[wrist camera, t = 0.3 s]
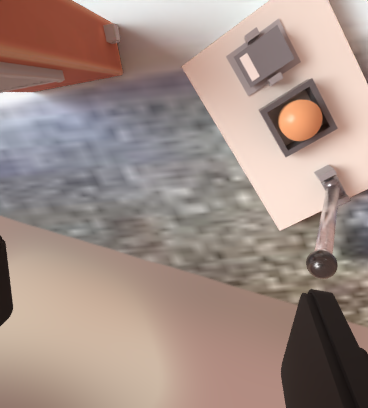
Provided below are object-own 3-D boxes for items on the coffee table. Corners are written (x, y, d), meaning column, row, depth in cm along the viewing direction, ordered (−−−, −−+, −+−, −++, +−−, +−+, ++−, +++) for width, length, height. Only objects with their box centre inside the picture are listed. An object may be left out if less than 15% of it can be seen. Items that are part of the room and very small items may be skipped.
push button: (306, 91, 28) (311, 91, 26) (323, 125, 29) (329, 127, 27) (270, 113, 29) (272, 114, 27) (288, 145, 30) (291, 148, 28)
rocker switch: (277, 25, 27) (277, 24, 26) (294, 58, 28) (294, 58, 27) (235, 57, 29) (233, 57, 28) (251, 86, 30) (250, 87, 29)
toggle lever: (339, 172, 30) (328, 258, 20) (348, 188, 31) (341, 282, 20) (319, 179, 32) (299, 264, 21) (328, 195, 32) (312, 286, 21)
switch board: (305, -21, 29) (320, -45, 24) (393, 163, 33) (421, 176, 28) (186, 68, 33) (176, 64, 28) (276, 220, 38) (282, 240, 33)
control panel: (6, 40, 36) (123, 13, 33) (24, 101, 38) (135, 81, 35) (-283, -27, 16) (-57, -113, 13) (-210, 109, 18) (-1, 63, 15)
